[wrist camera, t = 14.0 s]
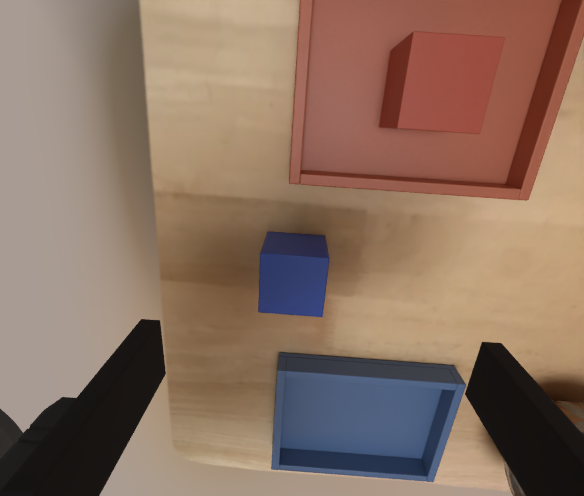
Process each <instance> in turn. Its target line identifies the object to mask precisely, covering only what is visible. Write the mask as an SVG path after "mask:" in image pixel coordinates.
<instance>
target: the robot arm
mask: <svg viewBox="0 0 584 496" xmlns="http://www.w3.org/2000/svg"><path fill="white" fill-rule="evenodd" d="M165 374H166V372H165V363H164V354H163V344H162V335H161V326H160V321H159V320H145V319H141V320H140V321H139V323H138V324H137V325H136V326H135V328H134V329H133V330H132V331H131V332H130V334H129V335H128V336H127V337H126V338H125V340H124V341H123V342H122V343H121V345H120V346H119V347H118V348H117V349H116V351H115V352H114V353H113V354H112V356H111V357H110V358H109V359H108V360H107V362H106V363H105V364H104V365H103V367H102V368H101V369H100V370H99V371H98V373H97V374H96V375H95V376H94V378H93V379H92V380H91V381H90V382H89V384H88V385H87V386H86V387H85V388H84V390H83V391H82V392H81V393H80V395H79V396H78V397H77V398H68V397H67V398H66V397H62V398H61V399H60V400H58V401H56V402H55V403H54V404H52V405H51V406H49V407H48V408H46V409H45V410H44V411H43V412H42V413H41V414H40V415H39V416H38V417H37V419H36V420H35V421H34V422H33V423H32V424H31V425H30V428H29V429H27V430H26V431H25V432H24V433H23V434H22V435H21V436H20V437H19V439H18V441H17V442H15V443H14V444H13V445H12V446H11V447H10V449H9V450H8V451H7V452H6V453H5V454H4V455H3V456H2V457H1V459H0V496H99V495H100V493H101V491H102V490H103V488H104V486H105V484H106V482H107V480H108V478H109V477H110V475H111V473H112V471H113V469H114V467H115V466H116V464H117V462H118V460H119V458H120V456H121V455H122V453H123V451H124V449H125V447H126V446H127V444H128V442H129V440H130V438H131V436H132V435H133V433H134V431H135V429H136V427H137V425H138V424H139V422H140V420H141V418H142V416H143V414H144V412H145V411H146V409H147V407H148V405H149V403H150V401H151V400H152V398H153V396H154V394H155V392H156V390H157V389H158V387H159V385H160V383H161V381H162V379H163V377H164V376H165ZM465 395H466V396H467V398H468V400H469V401H470V403H471V405H472V407H473V408H474V410H475V412H476V413H477V415H478V417H479V418H480V420H481V422H482V423H483V425H484V427H485V428H486V430H487V432H488V433H489V435H490V437H491V438H492V440H493V442H494V443H495V445H496V447H497V448H498V450H499V452H500V453H501V455H502V457H503V458H504V460H505V462H506V463H507V465H508V467H509V468H510V470H511V472H512V473H513V475H514V477H515V478H516V480H517V482H518V483H519V485H520V487H521V488H522V490H523V492H524V494H525V495H526V496H584V432H581V431H580V430H579V429H578V428H577V427H576V426H575V425H574V424H573V423H572V421H571V420H570V419H569V418H568V417H567V416H566V415H565V414H564V413H563V411H562V410H561V409H560V408H559V407H558V406H557V405H556V404H555V403H554V401H553V400H552V399H551V398H550V397H549V396H548V395H547V394H546V393H545V391H544V390H543V389H542V388H541V387H540V386H539V385H538V384H537V383H536V381H535V380H534V379H533V378H532V377H531V376H530V375H529V374H528V373H527V371H526V370H525V369H524V368H523V367H522V366H521V365H520V364H519V363H518V361H517V360H516V359H515V358H514V357H513V356H512V355H511V354H510V352H509V351H508V350H507V349H506V348H505V347H504V346H503V345H502V344H501V343H490V342H482V344H481V347H480V350H479V353H478V356H477V359H476V362H475V365H474V368H473V371H472V374H471V378H470V381H469V384H468V387H467V390H466V393H465Z"/></svg>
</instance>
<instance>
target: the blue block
mask: <svg viewBox="0 0 584 496" xmlns="http://www.w3.org/2000/svg"><path fill="white" fill-rule="evenodd" d="M328 266H329V254H328V249H327V243H326V238H325V236H323V235H309V234H295V233H281V232H267V235H266V238H265V241H264V244H263V247H262V250H261V253H260V278H259V311H258V312H261V313H275V314H288V315H302V316H315V317H323V309H324V300H325V292H326V283H327V275H328Z"/></svg>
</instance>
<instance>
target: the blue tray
mask: <svg viewBox="0 0 584 496" xmlns="http://www.w3.org/2000/svg"><path fill="white" fill-rule="evenodd" d="M465 386H466V384H465V382H464V381H463V379H462V378H461V376H460V374H459V373H458V371H457V370H456V368H455V366H454V365H440V364H427V363H414V362H400V361H387V360H374V359H361V358H347V357H334V356H321V355H308V354H294V353H281V352H280V353H279V359H278V369H277V383H276V400H275V417H274V433H273V450H272V466H271V469H273V470H287V471H300V472H313V473H326V474H338V475H351V476H364V477H377V478H389V479H402V480H415V481H427V482H434V479H435V476H436V473H437V470H438V467H439V464H440V461H441V458H442V455H443V452H444V449H445V446H446V443H447V440H448V437H449V434H450V431H451V428H452V425H453V422H454V419H455V416H456V413H457V410H458V407H459V404H460V401H461V398H462V395H463V392H464V389H465Z"/></svg>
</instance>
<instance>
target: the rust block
mask: <svg viewBox="0 0 584 496" xmlns="http://www.w3.org/2000/svg"><path fill="white" fill-rule="evenodd" d="M504 40H505V37H496V36H481V35H466V34H451V33H436V32H421V31H413V32H412V33H411V34H410V35H408V36H407V37H406V38H405V39H404V40H402V41H401V42H400V43H399V44H398V45H396V46H395V47H394V48H393V49H392V50H391V51H390V58H389V64H388V71H387V78H386V84H385V91H384V97H383V104H382V110H381V117H380V123H379V127H381V128H396V129H410V130H424V131H439V132H453V133H467V134H480V132H481V128H482V124H483V120H484V116H485V113H486V109H487V105H488V101H489V97H490V94H491V90H492V86H493V82H494V78H495V74H496V71H497V67H498V63H499V59H500V55H501V51H502V48H503V44H504Z"/></svg>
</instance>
